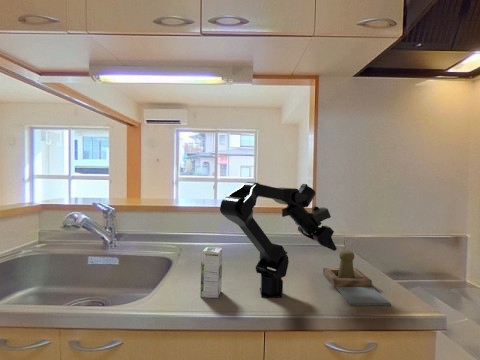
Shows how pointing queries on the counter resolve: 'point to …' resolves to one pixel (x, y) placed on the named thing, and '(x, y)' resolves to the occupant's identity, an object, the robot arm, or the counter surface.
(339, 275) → the cork
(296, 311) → the counter surface
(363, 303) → the blue gray mat
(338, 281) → the frame
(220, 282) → the syrup box
